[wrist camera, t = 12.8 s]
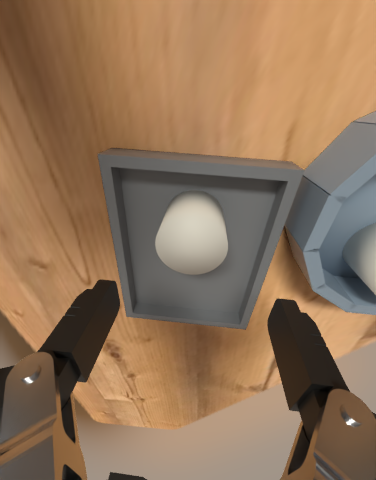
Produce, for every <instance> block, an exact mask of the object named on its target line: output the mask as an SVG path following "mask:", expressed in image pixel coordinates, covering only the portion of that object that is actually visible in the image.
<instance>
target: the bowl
mask: <svg viewBox="0 0 376 480" xmlns="http://www.w3.org/2000/svg"><path fill="white" fill-rule="evenodd" d="M374 223H376V111H375V112H372V113H370V114H368V115H366V116H363V117H361V118H359V119H357V120H355V121H353V122H351V123H350V124H349V126H348V127H347V128H346V129H345V130H344V131H343V132H342V133H341V134H340V135H339V136H338V137H337V138H336V139H335V140H334V141H333V142H332V143H331V144H330V145H329V146H328V147H327V148H326V149H325V150H324V151H323V152H322V153H321V154H320V155H319V156H318V157H317V158H316V159H315V160H314V161H313V162H312V163H311V164H310V165H309V166H308V167H307V168H306V169H305V170H304V173H303V176H302V178H301V181H300V184H299V187H298V189H297V192H296V195H295V197H294V200H293V203H292V206H291V208H290V211H289V214H288V216H287V219H286V222H285V225H284V226H285V230H286V233H287V237H288V240H289V244H290V247H291V251H292V254H293V257H294V259H295V260H296V262H297V264H298V266H299V267H300V269H301V271H302V273H303V274H304V276H305V278H306V280H307V281H308V283H309V285H310V287H311V288H312V290H313V291H314V292H316V293H317V294H319V295H320V296H322V297H324V298H325V299H327V300H328V301H330V302H331V303H333V304H335V305H336V306H338V307H339V308H341V309H342V310H344V311H346V312H352V313H362V314H371V315H376V295H375V294H374V293H373V292H372V291H371V290H370V288H369V287H368V286H367V285H366V284H365V283H364V282H363V281H362V279H361V278H360V277H359V276H358V275H357V274H356V273H355V272H354V271H353V269H352V268H351V267H350V266H349V265H348V264H347V263H346V262H345V260H344V258H343V249H344V246H345V244H346V242H347V241H348V240H349V239H350V237H352V236H353V235H354V234H355V233H356V232H358V231H359V230H361V229H363V228H364V227H366V226H369V225H371V224H374Z"/></svg>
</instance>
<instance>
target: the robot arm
mask: <svg viewBox="0 0 376 480" xmlns="http://www.w3.org/2000/svg"><path fill="white" fill-rule="evenodd" d="M119 307H120V299H119V294H118V289H117V284H116V282H115V281H110V280H98V281H97V283H96V284H95V286H94V287H93V289H87V290H85V291H84V292H83V293H81V294H80V295H79V296H78V297H77V298H76V299H75V301H74V302H73V303H72V305H71V307H70V308H69V309H68V310H67V312H66V313H65V316H63V317H62V319H61V320H60V322H59V323H58V324H57V326H56V327H55V329H54V330H53V331H52V333H51V334H50V336H49V337H48V338H47V340H46V341H45V343H44V344H43V345H42V347H41V348H40V349H39V350H38V351H37V352H36V353H34V354H31V355H29V356H27V357H25V358H23V359H22V360H21V361H19V362H18V363H17V364H16V365H15V366H11V367H6V368H2V369H0V480H87V474H86V467H85V462H84V458H83V455H82V451H81V448H80V444H79V437H78V429H77V422H76V414H75V406H74V400H73V392H72V391H73V389H74V387H75V385H76V383H77V381H78V382H87V380H88V377H89V375H90V373H91V371H92V369H93V366H94V364H95V362H96V360H97V358H98V355H99V353H100V351H101V349H102V347H103V344H104V342H105V340H106V338H107V336H108V333H109V331H110V329H111V327H112V325H113V323H114V320H115V318H116V316H117V314H118V311H119ZM268 332H269V335H270V339H271V343H272V347H273V351H274V354H275V358H276V362H277V366H278V369H279V373H280V377H281V381H282V385H283V388H284V392H285V396H286V400H287V403H288V407H289V410H292V411H299V412H300V415H301V419H302V421H301V423H300V425H299V428H298V431H297V434H296V437H295V440H294V443H293V446H292V449H291V452H290V455H289V458H288V461H287V464H286V467H285V470H284V472H283V475H282V477H281V479H280V480H376V414H375V413H373V412H371V410H370V409H369V408H368V407H367V405H366V404H365V403H364V402H363V401H362V400H361V399H360V398H358V397H357V396H355V395H354V394H353V393H351V392H350V391H349V389H348V387H347V386H346V384H345V382H344V380H343V378H342V376H341V374H340V372H339V369H338V368H337V365H336V363H335V361H334V359H333V357H332V355H331V353H330V351H329V349H328V347H326V343H325V341H324V339H323V337H321V333H320V331H319V329H318V327H317V325H316V323H315V322H314V321H313V320H312V319H311V318H310V317H309V316H308V314H307V313H301V312H300V310H299V307H298V305H297V303H296V302H295V301H294V300H287V299H276V301H275V303H274V306H273V308H272V310H271V313H270V315H269V318H268ZM108 480H147V479H145V478H143V477H139V476H132V475H126V474H119V473H112V472H110V475H109V479H108Z"/></svg>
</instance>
